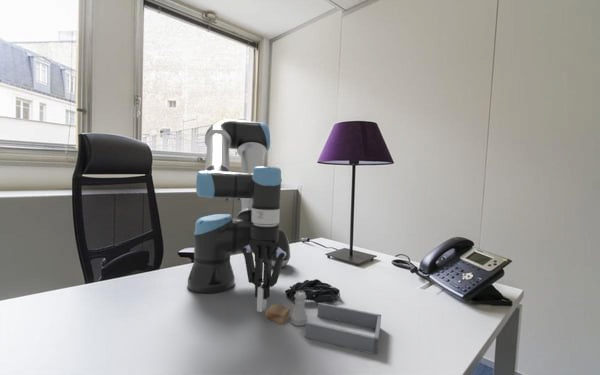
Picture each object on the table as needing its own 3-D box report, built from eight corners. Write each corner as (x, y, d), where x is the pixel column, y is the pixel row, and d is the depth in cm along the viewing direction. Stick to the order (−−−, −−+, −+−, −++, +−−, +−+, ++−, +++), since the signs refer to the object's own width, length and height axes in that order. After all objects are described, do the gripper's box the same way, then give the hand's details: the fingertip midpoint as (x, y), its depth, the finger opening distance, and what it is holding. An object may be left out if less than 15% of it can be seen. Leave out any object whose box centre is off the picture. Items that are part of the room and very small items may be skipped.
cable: (286, 306, 87) (287, 291, 87) (282, 287, 101) (283, 274, 100) (343, 305, 89) (343, 291, 89) (331, 286, 103) (332, 274, 103)
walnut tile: (265, 320, 78) (265, 311, 78) (273, 312, 82) (273, 303, 82) (282, 325, 76) (283, 315, 76) (289, 316, 81) (290, 307, 81)
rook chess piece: (297, 316, 80) (299, 287, 80) (310, 322, 78) (312, 292, 77) (286, 322, 77) (288, 292, 76) (300, 328, 74) (301, 297, 74)
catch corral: (304, 337, 70) (305, 323, 70) (318, 314, 82) (318, 302, 82) (376, 354, 65) (378, 339, 65) (380, 327, 76) (381, 314, 76)
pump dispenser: (262, 262, 125) (264, 226, 124) (286, 261, 128) (287, 226, 127) (267, 270, 115) (268, 232, 114) (292, 269, 118) (294, 231, 117)
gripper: (236, 223, 78) (233, 310, 79) (282, 228, 73) (277, 320, 75) (250, 219, 85) (247, 299, 86) (292, 224, 81) (288, 308, 82)
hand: (261, 309), depth 80 cm, fingers closed
